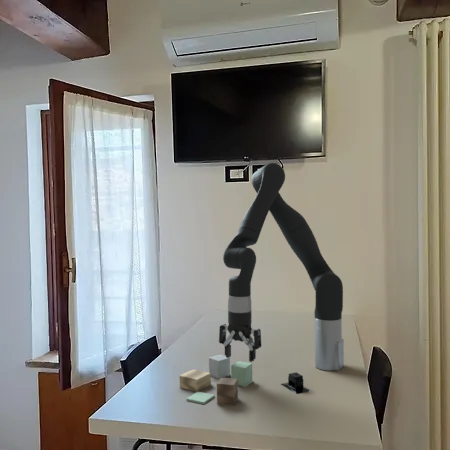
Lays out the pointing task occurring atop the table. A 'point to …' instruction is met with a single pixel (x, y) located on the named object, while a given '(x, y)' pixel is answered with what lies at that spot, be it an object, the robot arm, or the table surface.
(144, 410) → the table surface
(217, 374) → the grey block
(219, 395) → the walnut block
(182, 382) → the maple base
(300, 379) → the black piece
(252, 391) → the table surface
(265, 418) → the table surface
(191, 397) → the tile
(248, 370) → the green block
